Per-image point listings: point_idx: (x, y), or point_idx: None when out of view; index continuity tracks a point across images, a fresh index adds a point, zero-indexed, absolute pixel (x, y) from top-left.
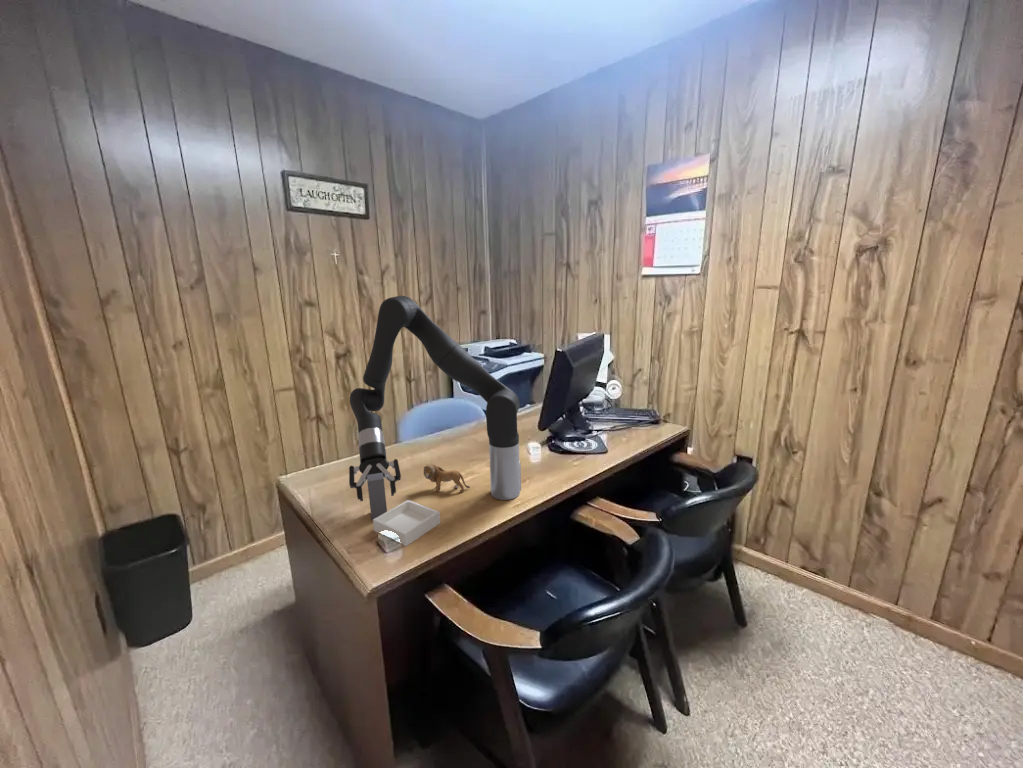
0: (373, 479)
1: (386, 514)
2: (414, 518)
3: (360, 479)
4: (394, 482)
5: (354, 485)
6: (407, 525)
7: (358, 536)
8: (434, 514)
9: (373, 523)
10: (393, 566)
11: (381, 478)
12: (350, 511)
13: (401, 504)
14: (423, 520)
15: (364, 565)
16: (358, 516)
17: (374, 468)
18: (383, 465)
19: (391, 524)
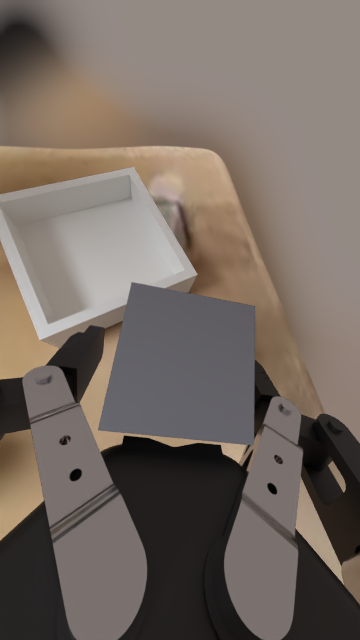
0: (209, 315)
1: (151, 284)
2: (70, 269)
3: (288, 438)
4: (49, 365)
5: (304, 419)
6: (104, 249)
7: (226, 291)
8: (9, 195)
9: (193, 280)
10: (174, 165)
11: (146, 298)
12: (241, 448)
13: (81, 316)
14: (59, 188)
15: (222, 195)
16: None
17: (174, 551)
18: (23, 592)
19: (143, 277)
